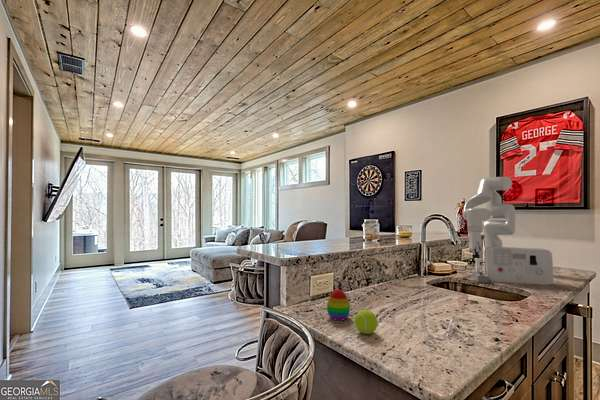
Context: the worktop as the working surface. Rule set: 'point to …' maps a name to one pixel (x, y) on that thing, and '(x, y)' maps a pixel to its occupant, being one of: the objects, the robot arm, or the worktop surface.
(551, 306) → the worktop surface
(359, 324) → the tennis ball
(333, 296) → the decorative egg
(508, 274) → the rounded white slab
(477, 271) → the breaker handle
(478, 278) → the breaker block
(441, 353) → the worktop surface
